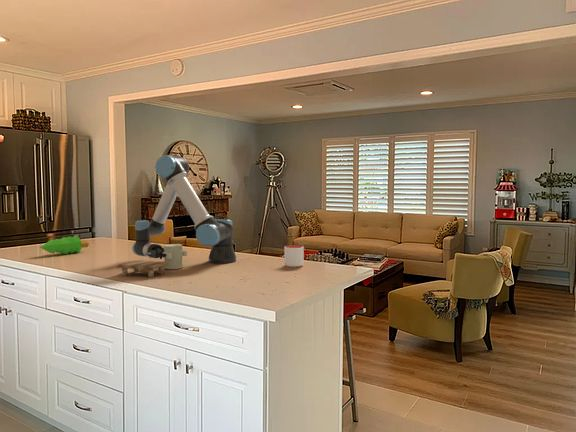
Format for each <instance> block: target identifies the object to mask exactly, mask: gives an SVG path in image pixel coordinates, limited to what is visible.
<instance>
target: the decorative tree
mask: <svg viewBox="0 0 576 432" xmlns="http://www.w3.org/2000/svg"><path fill="white" fill-rule="evenodd" d="M89 244H90V243H89V241H88V240H87V239H86V240H85V239H83V240H81V239H80V237H79V236H76V235H74V236H67V237H66V236H64V237H62V238H56V239H50V240H49V241H47V242H46V243H44V244H43V245H41V246H39V249H41V250H43V251H46V252H48V253H50V254H55V253H56V254H57V253H59V254H62V255H66V254H67V255H68V254H74V253H78V254H80V252H81V250H82V249H83V248H88V247H89Z"/></svg>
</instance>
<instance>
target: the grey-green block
mask: <svg viewBox="0 0 576 432" xmlns="http://www.w3.org/2000/svg"><path fill="white" fill-rule="evenodd" d="M163 248H164V252H167V253H171V255H172V259H169V258H164V262H168V265H165V266H164V270H178V269H183V265H184V264H183V256H182V249H183V244H182V243H181V244H180V243H169V244H164V245H163Z"/></svg>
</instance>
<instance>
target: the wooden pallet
mask: <svg viewBox="0 0 576 432" xmlns="http://www.w3.org/2000/svg"><path fill="white" fill-rule="evenodd" d="M165 265H168V262H165V261H154V260H131V261H127V262H124V263H120V264H117V268H118V269H120V268H121V269H122V270H121V273H122V274H121V275H122V277H127V276H128V274H129V273H128V269H133V271H132V272H133V273H139V272H140V271H139V270H147V271H148V272H147V273H148V278H154V277H155V272H154V271H155V270H156V269H158V274H159V273H163V274H165V268H164V267H165Z"/></svg>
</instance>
